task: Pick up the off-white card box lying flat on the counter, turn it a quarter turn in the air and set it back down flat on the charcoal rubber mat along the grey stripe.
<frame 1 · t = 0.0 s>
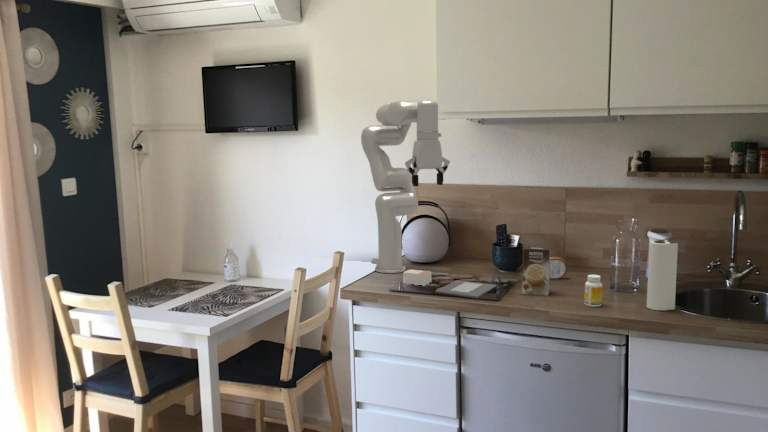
hand: (427, 185, 229), 37 cm above the worktop, tool pointing down, fingers open, 9 cm apart
paper towel roll: (658, 309, 204), on the worktop
card box: (417, 283, 242), on the worktop
coffee box: (535, 293, 226), on the worktop
mat: (466, 289, 232), on the worktop
tin: (546, 279, 246), on the worktop
supplement bottle: (592, 305, 210), on the worktop
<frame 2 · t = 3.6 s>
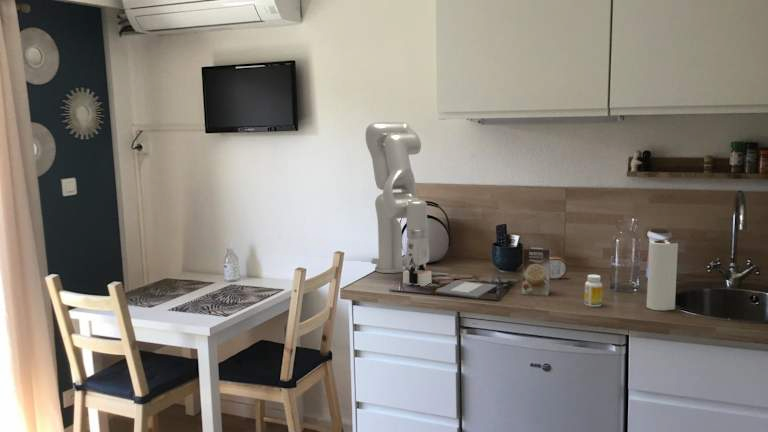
hand: (417, 281, 242), 1 cm above the worktop, tool pointing down, fingers closed on card box, 5 cm apart
card box: (417, 283, 242), on the worktop, touching gripper
everything else where it was.
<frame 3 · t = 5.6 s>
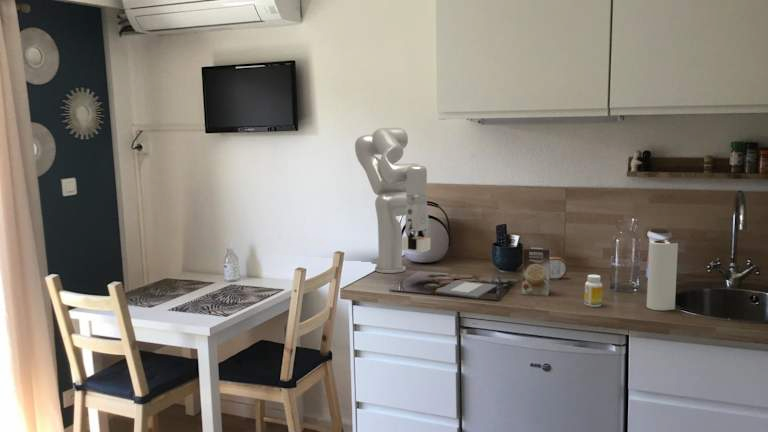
hand: (416, 247, 240), 14 cm above the worktop, tool pointing down, fingers closed on card box, 5 cm apart
card box: (416, 249, 241), point 13 cm above the worktop, touching gripper
everything else where it was.
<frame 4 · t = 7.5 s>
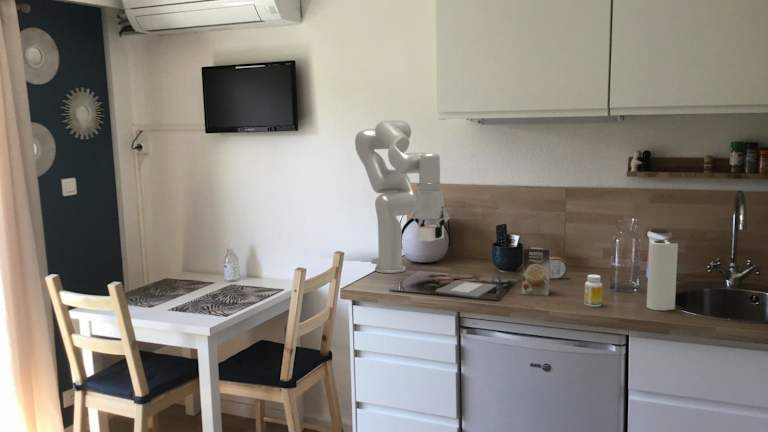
hand: (430, 236, 236), 18 cm above the worktop, tool pointing down, fingers closed on card box, 5 cm apart
card box: (430, 239, 236), point 17 cm above the worktop, touching gripper
everything else where it was.
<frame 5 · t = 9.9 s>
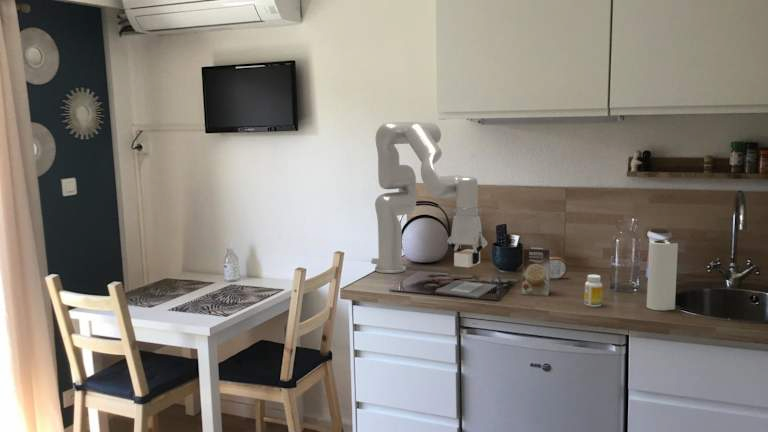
hand: (467, 262, 230), 10 cm above the worktop, tool pointing down, fingers closed on card box, 5 cm apart
card box: (467, 264, 230), point 9 cm above the worktop, touching gripper
everything else where it was.
when the fingers open (2 cm above the worktop, at t = 11.7 s): card box stays where it is, resting on mat.
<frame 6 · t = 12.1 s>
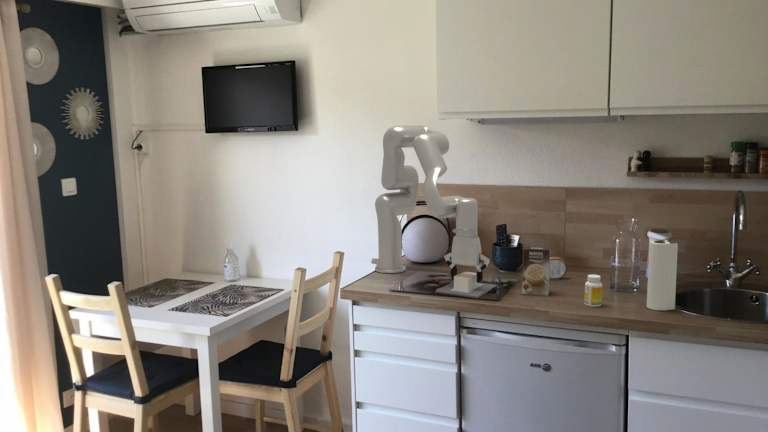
hand: (466, 280, 231), 3 cm above the worktop, tool pointing down, fingers open, 9 cm apart
card box: (466, 287, 232), point 1 cm above the worktop, touching mat
everything else where it was.
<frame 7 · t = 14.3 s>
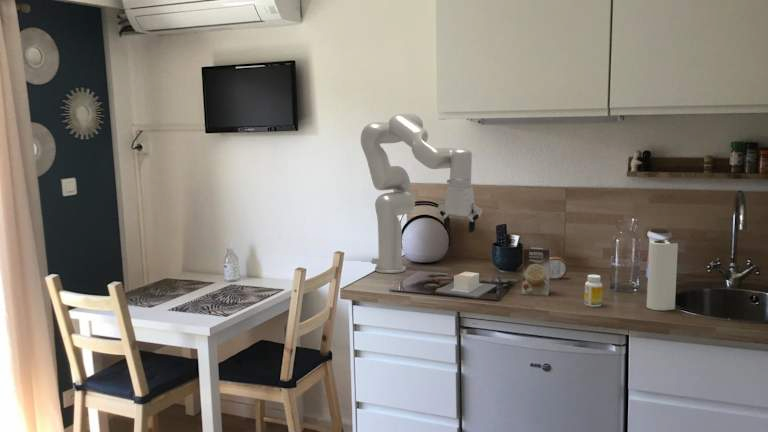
hand: (459, 230, 236), 20 cm above the worktop, tool pointing down, fingers open, 9 cm apart
nothing on the worktop moved.
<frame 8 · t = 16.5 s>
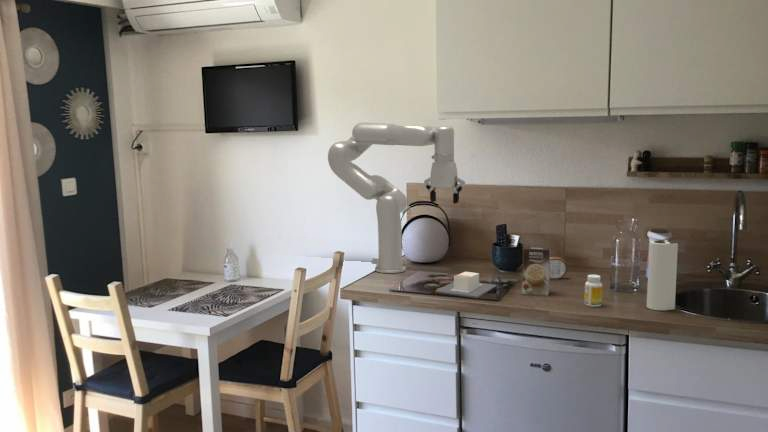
hand: (444, 202, 253), 28 cm above the worktop, tool pointing down, fingers open, 9 cm apart
nothing on the worktop moved.
at the end: card box inside the target area on the mat (0.1 cm from its centre), point 0.8 cm above the mat's base; card box tilted 0°; the gripper is holding nothing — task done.
